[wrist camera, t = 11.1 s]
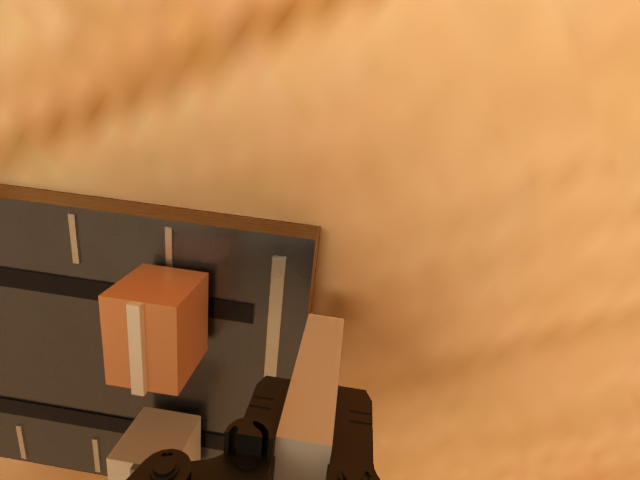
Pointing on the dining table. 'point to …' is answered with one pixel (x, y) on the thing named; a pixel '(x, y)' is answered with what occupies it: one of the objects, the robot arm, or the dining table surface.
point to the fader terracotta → (154, 328)
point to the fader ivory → (154, 440)
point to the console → (85, 328)
